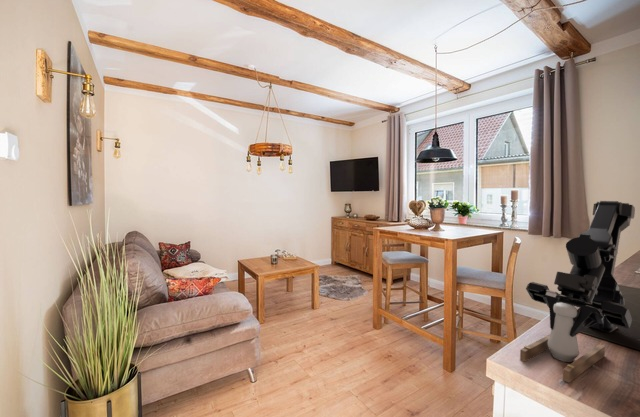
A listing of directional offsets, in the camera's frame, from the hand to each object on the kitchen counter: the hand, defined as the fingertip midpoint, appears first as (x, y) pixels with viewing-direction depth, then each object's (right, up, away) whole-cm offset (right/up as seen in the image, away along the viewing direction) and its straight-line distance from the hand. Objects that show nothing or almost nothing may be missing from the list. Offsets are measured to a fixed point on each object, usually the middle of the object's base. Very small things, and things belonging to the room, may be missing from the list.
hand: (561, 332), depth 66 cm
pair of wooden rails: (+1, -7, +1) cm, 7 cm away
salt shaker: (+1, -7, +1) cm, 7 cm away
